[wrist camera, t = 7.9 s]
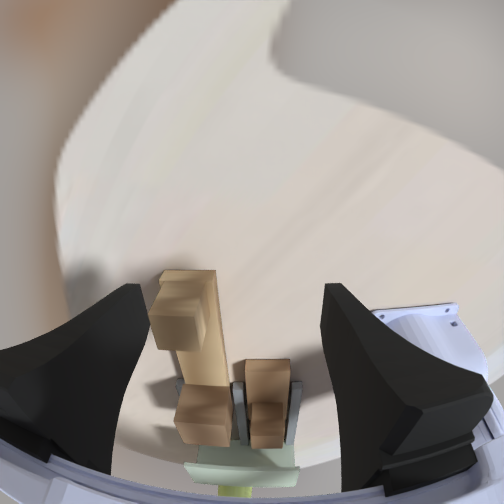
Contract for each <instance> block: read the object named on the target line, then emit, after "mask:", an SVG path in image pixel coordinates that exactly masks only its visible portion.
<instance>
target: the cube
mask: <svg viewBox="0 0 504 504" xmlns="http://www.w3.org/2000/svg"><path fill="white" fill-rule="evenodd" d="M232 419H233V406H232V400H231V393H230V386H209V385H194V384H183V386H182V390H181V394H180V397H179V401H178V405H177V409H176V413H175V417H174V423H175V425H176V428H177V430H178V432H179V434H180V436H181V438H182V440H183V442H184V443H187V444H195V445H206V446H218V447H230V439H231V429H232Z"/></svg>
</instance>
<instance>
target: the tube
mask: <svg viewBox="0 0 504 504" xmlns="http://www.w3.org/2000/svg"><path fill="white" fill-rule="evenodd" d="M218 486H219V487H218V496H226V497H244V498H251V493H252V487H238V486H222V485H218Z"/></svg>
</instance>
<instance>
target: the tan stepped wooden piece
mask: <svg viewBox="0 0 504 504" xmlns="http://www.w3.org/2000/svg"><path fill="white" fill-rule="evenodd" d="M159 284H160V291H159V293H158V295H157V297H156V299H155V301H154V303H153V305H152V307H151V308H150V310H149V312H148V317H149V320H150V325H151V329H152V332H153V335H154V339H155V342H156V345H157V348H158V349H159V350H172V351H176V353H177V357H178V360H179V364H180V367H181V370H182V374H183V377H184V380H185V384H194V385H209V386H230V383H229V376H228V369H227V361H226V354H225V346H224V339H223V331H222V323H221V314H220V306H219V297H218V288H217V279H216V270H164V272H163V274H162V276H161V277H160V279H159ZM230 393H231V390H230ZM231 400H232V396H231Z"/></svg>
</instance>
